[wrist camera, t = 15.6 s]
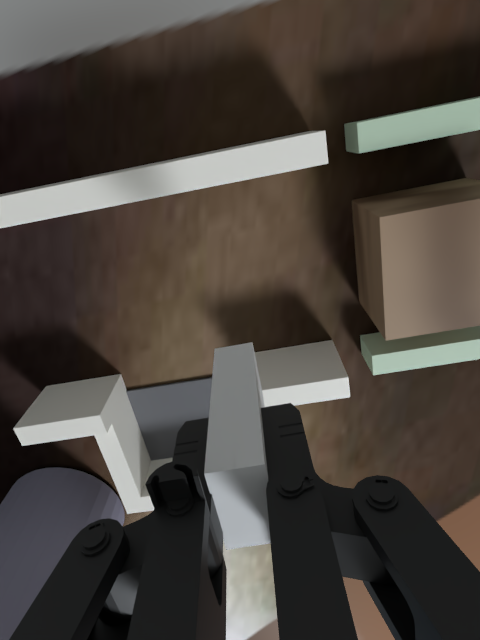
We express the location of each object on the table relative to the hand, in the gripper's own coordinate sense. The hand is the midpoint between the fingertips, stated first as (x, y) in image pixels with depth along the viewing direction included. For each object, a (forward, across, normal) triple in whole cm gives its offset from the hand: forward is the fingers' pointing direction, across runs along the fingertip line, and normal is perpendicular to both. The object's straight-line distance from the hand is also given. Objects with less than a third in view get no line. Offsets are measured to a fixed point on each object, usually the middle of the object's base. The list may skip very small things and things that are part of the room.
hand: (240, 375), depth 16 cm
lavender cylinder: (+14, -19, -19) cm, 30 cm away
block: (+12, +12, 0) cm, 17 cm away
